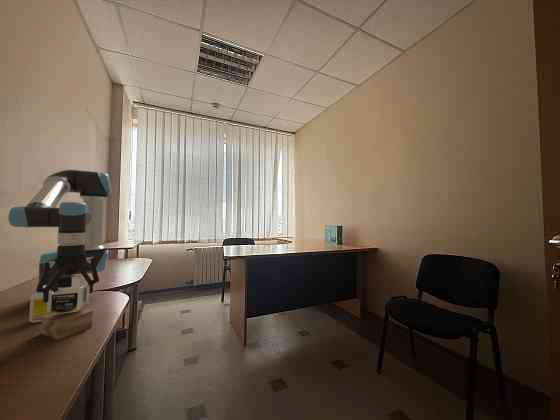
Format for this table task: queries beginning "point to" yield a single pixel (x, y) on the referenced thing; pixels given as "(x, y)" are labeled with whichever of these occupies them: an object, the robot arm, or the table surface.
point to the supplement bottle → (38, 307)
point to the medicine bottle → (68, 295)
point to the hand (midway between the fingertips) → (68, 306)
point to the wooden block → (66, 323)
